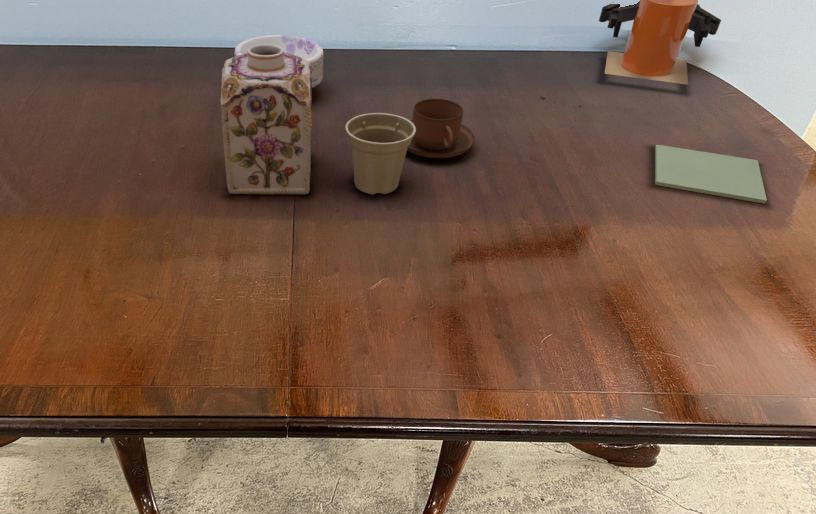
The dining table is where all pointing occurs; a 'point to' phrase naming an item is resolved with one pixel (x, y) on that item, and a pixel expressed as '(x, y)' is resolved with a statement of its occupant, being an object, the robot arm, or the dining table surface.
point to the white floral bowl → (291, 51)
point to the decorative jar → (267, 121)
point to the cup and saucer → (439, 130)
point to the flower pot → (378, 150)
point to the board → (616, 69)
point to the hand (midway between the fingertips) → (658, 34)
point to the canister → (657, 36)
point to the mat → (709, 173)
